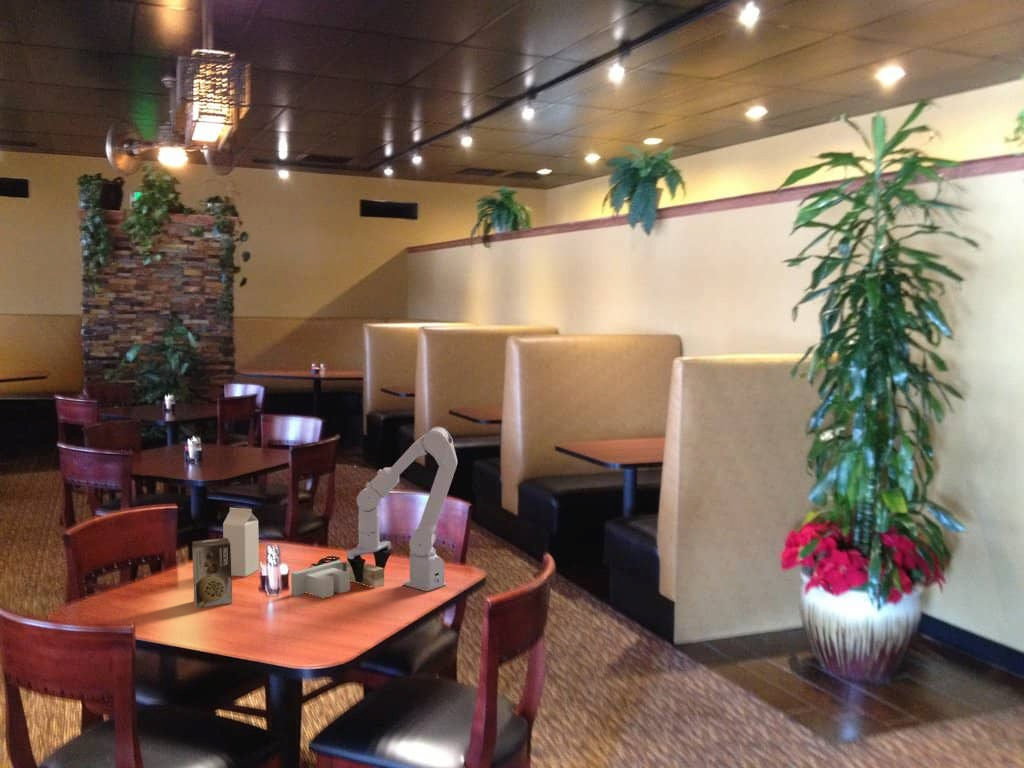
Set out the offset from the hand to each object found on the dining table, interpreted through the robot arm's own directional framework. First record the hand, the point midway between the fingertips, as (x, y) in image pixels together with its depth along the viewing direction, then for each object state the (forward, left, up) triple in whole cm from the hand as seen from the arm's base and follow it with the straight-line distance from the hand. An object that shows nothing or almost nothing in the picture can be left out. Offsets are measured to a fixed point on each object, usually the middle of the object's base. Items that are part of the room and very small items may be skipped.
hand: (369, 578), depth 246 cm
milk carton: (+36, +17, -2) cm, 40 cm away
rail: (+3, 0, -2) cm, 4 cm away
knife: (+21, +1, -2) cm, 21 cm away
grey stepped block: (+3, +12, -1) cm, 12 cm away
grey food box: (+19, +37, -2) cm, 42 cm away
